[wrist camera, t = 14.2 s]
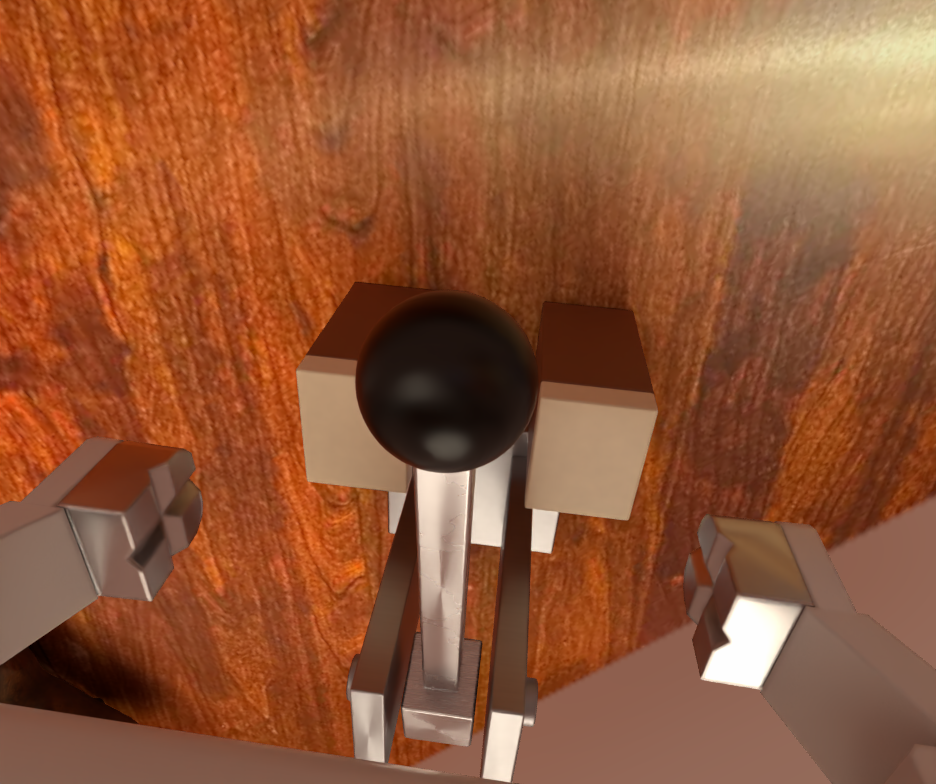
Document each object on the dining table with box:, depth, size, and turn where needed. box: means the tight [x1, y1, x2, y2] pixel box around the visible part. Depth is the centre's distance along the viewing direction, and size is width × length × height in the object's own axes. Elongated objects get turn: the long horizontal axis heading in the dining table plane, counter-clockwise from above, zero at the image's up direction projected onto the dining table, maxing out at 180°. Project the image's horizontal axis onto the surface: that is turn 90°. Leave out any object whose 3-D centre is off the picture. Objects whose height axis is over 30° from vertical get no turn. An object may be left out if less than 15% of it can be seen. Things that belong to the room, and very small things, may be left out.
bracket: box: [346, 424, 560, 783], centre depth 24 cm, size 7×8×13 cm
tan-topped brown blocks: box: [296, 282, 658, 520], centre depth 23 cm, size 11×4×7 cm, turn 87°
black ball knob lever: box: [355, 290, 539, 747], centre depth 15 cm, size 17×3×3 cm, turn 176°
